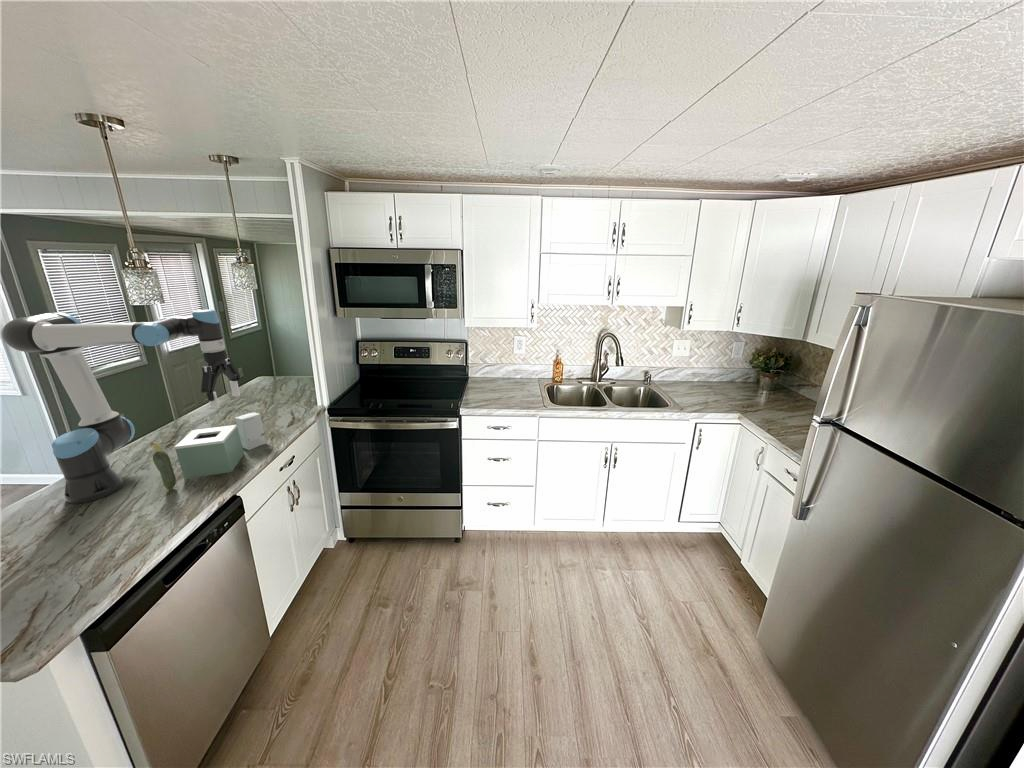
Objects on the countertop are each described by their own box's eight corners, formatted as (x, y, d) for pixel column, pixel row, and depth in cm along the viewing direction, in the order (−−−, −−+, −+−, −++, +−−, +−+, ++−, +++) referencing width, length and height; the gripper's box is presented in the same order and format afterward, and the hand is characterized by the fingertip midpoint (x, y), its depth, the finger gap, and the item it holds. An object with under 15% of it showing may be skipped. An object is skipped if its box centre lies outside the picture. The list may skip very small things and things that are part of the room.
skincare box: (248, 450, 178) (241, 420, 174) (241, 447, 181) (233, 417, 176) (267, 443, 185) (260, 413, 180) (260, 440, 188) (253, 411, 183)
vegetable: (182, 486, 151) (166, 439, 145) (173, 493, 147) (157, 444, 141) (170, 487, 151) (154, 439, 145) (161, 494, 147) (144, 444, 140)
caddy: (184, 478, 156) (174, 446, 152) (201, 459, 171) (192, 430, 167) (231, 472, 161) (222, 440, 156) (244, 453, 175) (236, 424, 171)
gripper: (201, 358, 143) (215, 413, 150) (243, 343, 167) (253, 391, 173) (180, 358, 143) (194, 413, 149) (224, 343, 166) (235, 391, 173)
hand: (226, 401), depth 161 cm, fingers open, 13 cm apart
